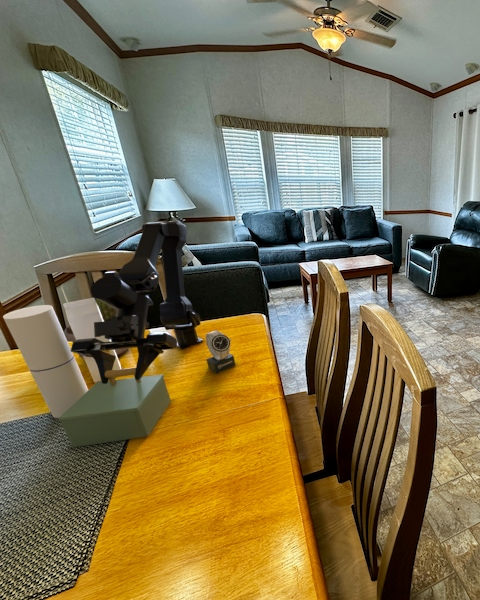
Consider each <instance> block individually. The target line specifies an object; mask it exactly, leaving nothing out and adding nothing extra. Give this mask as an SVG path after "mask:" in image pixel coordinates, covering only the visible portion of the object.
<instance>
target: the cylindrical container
mask: <svg viewBox="0 0 480 600" xmlns="http://www.w3.org/2000/svg"><path fill="white" fill-rule="evenodd" d="M2 318H3V320H4V322H5V324H6V327H7V328H8V331H9V332H10V334H11V336H12V338H13V340H14V342H15V344H16V346H17V348H18V350H19V352H20V354H21V357H22V358H23V360H24V362H25V364H26V366H27V368H28V370H29V372H30V374H31V376H32V378H33V379H34V382H35V384H36V386H37V388H38V390H39V392H40V394H41V396H42V398H43V400H44V402H45V404H46V406H47V408H48V410H49V412H50V414H51V416H52V417H53V418H55V419H59V417H60V416H62V415H63V414H64V413H65V412H66V411H67V410H68V409H69V408H70V407H71V406H72V405H73V404H74V403H75V402H76V401H78V400H79V399H80V398H81V397H82V396H83V395H84V394H85V393H86V392H87V391H88V390H89V388H88V386H87V383H86V381H85V378H84V376H83V374H82V371H81V370H80V367H79V365H78V362H77V361H76V358H75V356H74V352H71V346H70V344H69V341H67V339H66V337H65V335H64V330H63V328H62V326H61V323H60V321H59V318H58V315H57V313H56V312H55V309H54V307H53V305H52V304H51V305H50V304H39V305H33V306H28V307H22V308H18V309H15V310H11V311H9V312H8V313H5V314H4V315H3V316H2Z"/></svg>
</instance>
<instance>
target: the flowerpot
mask: <svg viewBox="0 0 480 600" xmlns="http://www.w3.org/2000/svg"><path fill="white" fill-rule="evenodd" d="M95 301H96V303H97V305H98V307H99V310H100V312H101V315H102V318H103V320H104V321H110V320H111V318H112V317H116V315H117V310H118V309H115V308H112V307H110V306H109V305H107V304H105V303H104V302H102V301H100V300H98V299H97V298H96V299H95ZM63 332H64V335H65V337H66V339H67V342H69V343H70V342H71V343H73V342H75V341H76V338H75V336H74V334H73V331H72V329H71V327H70V324H69V325H67V326H65V329H64V330H63ZM111 341H112V340H111ZM129 349H130V348H125V349H115V352H116V354H117V357H118V358H119V357H121V356H123V355H125V354H126V353H127V351H129ZM78 358H80V359H82V360H84V357H83V355H80V354H78Z"/></svg>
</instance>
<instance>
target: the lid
mask: <svg viewBox="0 0 480 600" xmlns="http://www.w3.org/2000/svg"><path fill="white" fill-rule="evenodd" d="M135 371H136V367H127V368H121V369H117V370H108V371H106V372H105V377H106V378H108V379H109V380H108V383H107V384H103V383H102V381H98V382H95V383H94V385H92V386H91V387H90V388H88V391H87V392H86V393H85V394H84V395H83V396H82V397H81V398H80V399H79V400H78V401H76V402H75V403H74V404H73V405H72V406H71V407H70V408H69V409H68V410H67V411H66V412H65V413H64V414H63V415H62V416H60V417H59V418H58V420H59V421H63V420H70V419H78V418H85V417H93V416H100V415H108V414H115V413H123V412H130V411H138V410H139V409H140V407H141V406H142V405H143V404H144V402H145V401H146V400H147V398H148V397H149V396H150V395H151V393H152V392H153V391H154V389H155V388H156V387H157V385H158V384H159V383H160V382H161V380H162V379H163V378H165V374H164V373H162V374H153V375H145V376H144V375H143V376H142V377H141V378H140V380H135ZM128 376H133V377H128ZM119 377H127V378H119ZM115 378H119V379H115Z"/></svg>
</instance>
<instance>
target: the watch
mask: <svg viewBox="0 0 480 600" xmlns="http://www.w3.org/2000/svg"><path fill="white" fill-rule="evenodd" d="M205 341H206V342H205V344H206V346H207V349H208V351H209V353H210V355H212V356H211V357H209V358H206V365H207V368H208V370H210V372H212V373H214V374H215V375H217V374H220V373H222V372H224V371H226V370H228V369H230V368H232V367H235V366H236V362H235V357H234V355H233V354H231V353H230V351H231V341H232V339H231V338H230V337H229V336H227V335H225V334H224V333H223V332H221V331H218V330H212V331H211V332H207V333H206V334H205Z"/></svg>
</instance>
